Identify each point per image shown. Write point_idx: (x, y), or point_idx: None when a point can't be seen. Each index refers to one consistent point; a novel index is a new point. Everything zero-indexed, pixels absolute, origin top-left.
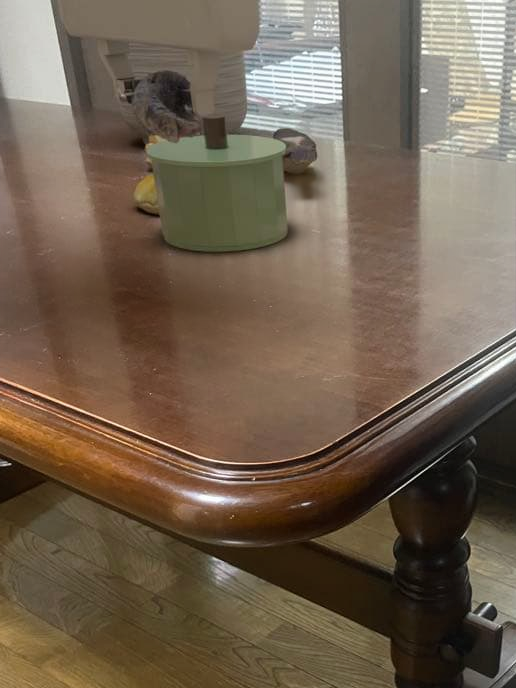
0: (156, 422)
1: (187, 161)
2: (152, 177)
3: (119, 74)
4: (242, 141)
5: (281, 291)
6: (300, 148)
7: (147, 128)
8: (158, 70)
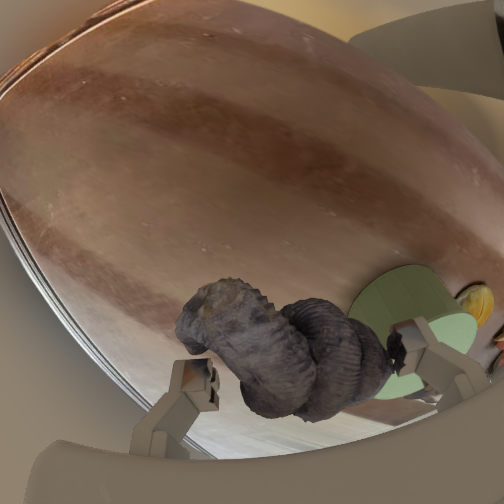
0: (45, 76)
1: None
2: (487, 310)
3: (429, 358)
4: (417, 380)
5: (234, 275)
6: (425, 396)
7: (224, 281)
8: None
